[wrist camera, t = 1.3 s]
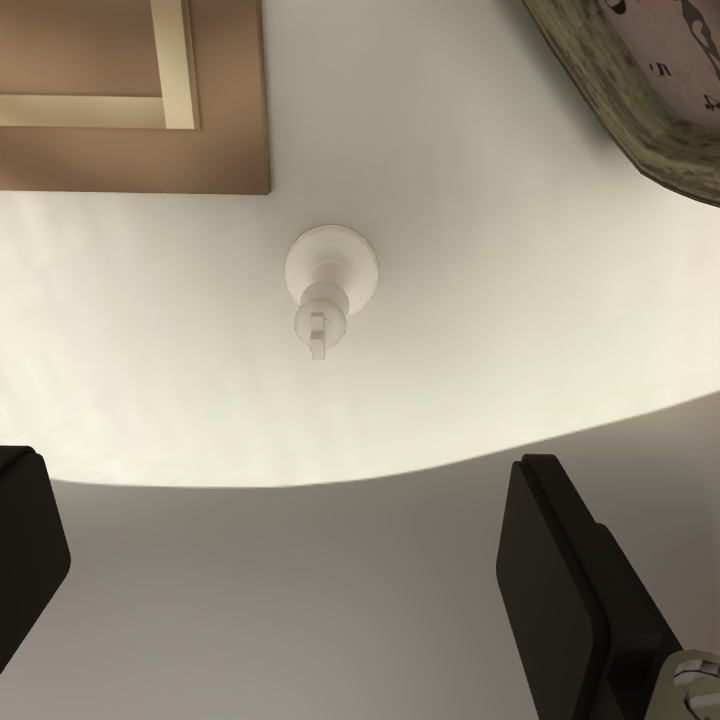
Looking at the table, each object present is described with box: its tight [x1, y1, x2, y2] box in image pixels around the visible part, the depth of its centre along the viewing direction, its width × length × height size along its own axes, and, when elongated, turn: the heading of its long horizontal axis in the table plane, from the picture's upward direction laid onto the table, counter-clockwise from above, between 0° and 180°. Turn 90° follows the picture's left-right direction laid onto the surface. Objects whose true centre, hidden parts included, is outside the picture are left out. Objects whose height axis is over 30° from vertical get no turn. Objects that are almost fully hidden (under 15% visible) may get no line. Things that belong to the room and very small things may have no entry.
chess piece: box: [285, 225, 379, 360], centre depth 23 cm, size 5×5×10 cm
